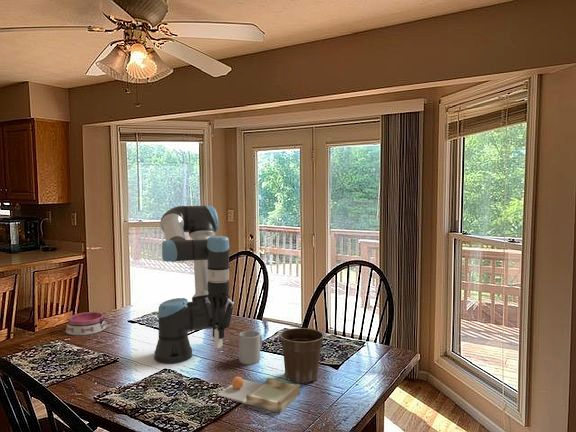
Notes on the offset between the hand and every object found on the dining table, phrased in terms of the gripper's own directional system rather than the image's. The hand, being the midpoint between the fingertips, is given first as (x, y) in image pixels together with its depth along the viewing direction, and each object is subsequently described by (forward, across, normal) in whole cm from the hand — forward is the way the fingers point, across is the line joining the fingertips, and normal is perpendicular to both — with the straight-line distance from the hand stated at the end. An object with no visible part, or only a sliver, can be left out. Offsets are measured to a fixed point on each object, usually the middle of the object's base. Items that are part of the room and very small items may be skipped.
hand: (218, 346), depth 157 cm
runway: (+14, +16, 0) cm, 21 cm away
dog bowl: (+14, -93, +20) cm, 96 cm away
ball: (+11, +8, 0) cm, 14 cm away
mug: (+14, -2, +26) cm, 30 cm away
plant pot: (+14, +23, +20) cm, 34 cm away
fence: (+14, +22, 0) cm, 26 cm away
